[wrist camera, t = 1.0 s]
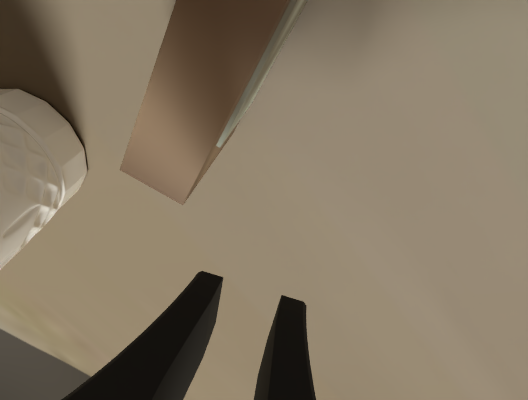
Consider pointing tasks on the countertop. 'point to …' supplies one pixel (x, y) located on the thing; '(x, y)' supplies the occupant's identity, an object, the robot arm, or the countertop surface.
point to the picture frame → (203, 87)
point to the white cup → (34, 167)
